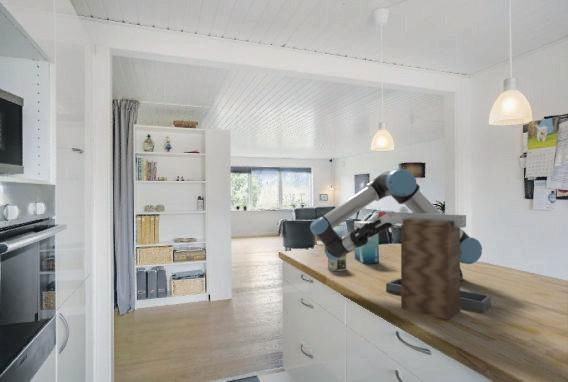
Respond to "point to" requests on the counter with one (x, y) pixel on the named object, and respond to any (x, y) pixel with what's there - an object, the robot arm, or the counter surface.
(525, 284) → the counter surface
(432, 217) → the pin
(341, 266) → the coffee can
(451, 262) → the post
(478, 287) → the counter surface
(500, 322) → the counter surface
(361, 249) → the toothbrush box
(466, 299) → the tray
